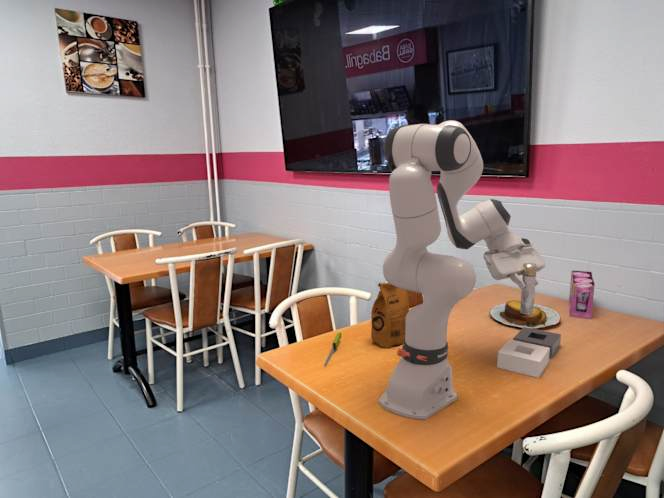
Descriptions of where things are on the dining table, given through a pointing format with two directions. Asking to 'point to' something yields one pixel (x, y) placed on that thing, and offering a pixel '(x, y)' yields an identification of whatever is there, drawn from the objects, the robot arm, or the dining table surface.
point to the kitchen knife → (333, 347)
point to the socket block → (539, 338)
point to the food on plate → (512, 314)
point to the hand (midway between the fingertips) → (530, 286)
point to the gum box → (581, 294)
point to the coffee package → (389, 316)
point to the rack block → (523, 358)
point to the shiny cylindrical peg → (528, 288)
